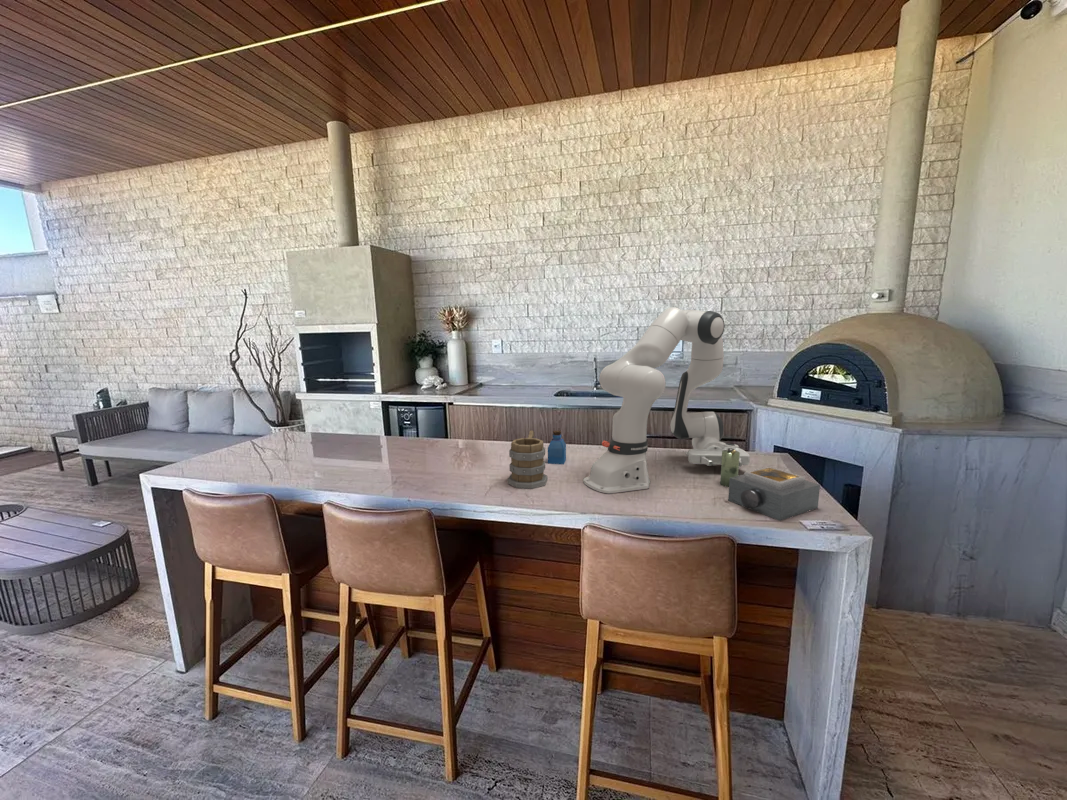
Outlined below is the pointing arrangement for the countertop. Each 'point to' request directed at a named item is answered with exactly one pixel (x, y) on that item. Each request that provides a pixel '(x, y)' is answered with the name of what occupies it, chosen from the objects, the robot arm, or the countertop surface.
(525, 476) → the tankard
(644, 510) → the countertop surface
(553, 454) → the perfume bottle
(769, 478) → the gearbox housing
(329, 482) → the countertop surface
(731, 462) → the spout can
